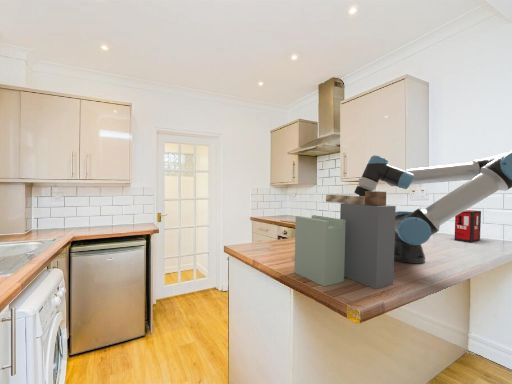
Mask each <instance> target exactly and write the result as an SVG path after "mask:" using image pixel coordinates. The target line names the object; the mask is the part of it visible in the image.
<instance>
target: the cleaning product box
mask: <svg viewBox="0 0 512 384" xmlns="http://www.w3.org/2000/svg"><path fill="white" fill-rule="evenodd" d="M454 219H455V220H454V239H453V240H454V242H455V241H456V242H462V243H468V244H469V243H470V244H472V243H476V242H480V241H481V224H482V223H481V222H482V221H481V220H482V210H471V209H469V210H468V209H466V210H465V211H463V212H461V213H460V214H458V215H456V216H455V217H454Z"/></svg>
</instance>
